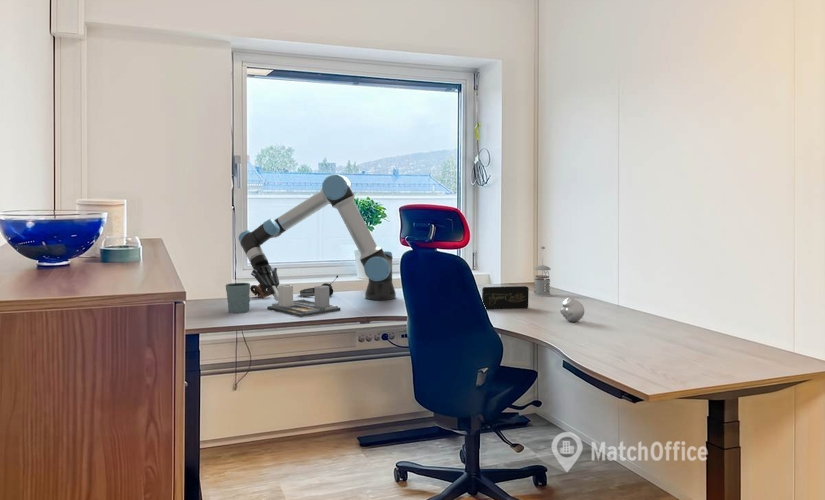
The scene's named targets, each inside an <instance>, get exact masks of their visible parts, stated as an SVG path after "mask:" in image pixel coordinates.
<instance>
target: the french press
mask: <svg viewBox="0 0 825 500" xmlns="http://www.w3.org/2000/svg"><path fill="white" fill-rule="evenodd" d="M540 249H542V250H544V249H546V247H545V246H543V245H542V246H540ZM541 260H542V264H541V265H537V266H535V267H534V270H536V271H541V274H540V275H535V278H534V289H533V290H534V293H533V294H532V296H534V297H542V298H543V297H544V298H546V297H552V294H551V288H550V287H551V285H550V284H551V279H550V274H549V271H551V267H549V266H547V265H544V264H543V263H544V258H542V259H541ZM543 274H545V275H543ZM547 274H548V275H547Z"/></svg>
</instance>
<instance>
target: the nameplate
mask: <svg viewBox="0 0 825 500" xmlns="http://www.w3.org/2000/svg"><path fill="white" fill-rule="evenodd" d="M481 292H482V293H481V294H482V295H481V299H482V300H483V303H484V305H485V307H486V309H487V311H489V310H494V311H495V310H522V309H525V310H527V309H528V308H529V296H530V295H529V287H528V286H526V285H521V286H520V285H519V286H518V285H517V286H513V285H511V286H510V285H509V286H507V285H506V286H484V287H482V291H481ZM482 300H481V301H482Z"/></svg>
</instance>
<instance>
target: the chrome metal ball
mask: <svg viewBox="0 0 825 500" xmlns="http://www.w3.org/2000/svg"><path fill="white" fill-rule="evenodd" d="M561 304H562V307H561V308H560V314H561V315H562V317H563V318H564V319H565V320H566V321H568V322H571V323H576V322H578V321H580V320H582V318H584V316H585V307H584V305H583V303H582V302H580V301H579V300H577V299H575V298H574V297H572V296H568V297H567V298H565V299H564V300H563V302H562V303H561Z"/></svg>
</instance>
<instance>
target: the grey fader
mask: <svg viewBox="0 0 825 500" xmlns="http://www.w3.org/2000/svg"><path fill="white" fill-rule="evenodd" d="M314 288H315V296H314V302H315V306H317V307H322V308H325V307H329V305H330V297H329V286H321V285H319V286H318V285H317V286H314Z"/></svg>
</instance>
